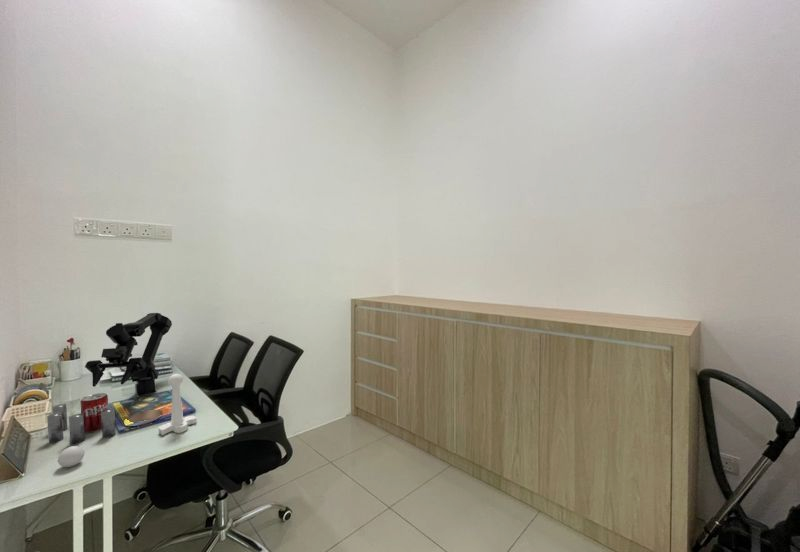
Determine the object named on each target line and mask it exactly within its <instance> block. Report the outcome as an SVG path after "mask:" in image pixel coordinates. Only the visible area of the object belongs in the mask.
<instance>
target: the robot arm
mask: <svg viewBox="0 0 800 552" xmlns="http://www.w3.org/2000/svg"><path fill="white" fill-rule="evenodd" d="M172 322H173V321H172V320H171V319H170V317H167V316H165V315H162V314H161V312H160V313H159V312H149V313H147V314H146V315H145V316H143V317H141V318H140V319H138V320H136V321H134V322H128V323H125V324H123V323H122V322H117V323H115V325H112V326H110V327H109V328H107V330H106V332H105V335H106V336H107V337H108V338H109V339H110V340H111V341H112V343H114V344H116V346H115V348H114V347H112V348H111V347H110V348H103V349H102V351H101V352H102V353H101V356H100V357H101V358H102V359H103V358H105V361H106V362H105V363H104V362H103V361H102V360H100V359H98V360H89V361H87V362H86V363H85V365H84V368H85V369H87V370H88V372H90V373H91V374H92V375H91V376H92V387H93V388H95V387H96V386H97V385H98V383H99V382H100V381H101V379H102V377H103V375H104V372H105V370H106V369H112V368H125V371H124V373H123V375H122V377H121V380H120V384H121V385H124V384H125V383H126V382H127V381H129V379H130V378H131V381H132V383H135V384H134V392H135V394H137V396H139V397H141V396H145V395H148V394H153V393H157V389H156V386H155V385H156V383H155V382H156V379H158V378H159V374H160V373H159V371H158V370H157V368H156V365H155V362H154V361H155V358H156V355H157V352H158V349H159V347H160V345H161V342H162V340H163V336H164V335H166V334H167V333H169V331H170V329H171V328H172V325H173V323H172ZM148 327H149V330H150V331H151V334H150V335H149V336H150V337H149V338H148V341H147V343H146V346H145V348H144V351H143V353H142V356H141V357H140V356H139V357H132V356H133V353H132V352H133V349H134V347H135V346H138V342H137V339H136V338H135V337H141V336H142V335H144V334H145V332H146V329H147V328H148Z"/></svg>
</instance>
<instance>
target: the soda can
mask: <svg viewBox="0 0 800 552" xmlns="http://www.w3.org/2000/svg"><path fill="white" fill-rule="evenodd" d="M106 409H109V396H108V394H107V393H105V392H98V393H93V394H90V395H87V396H84V397H82V398H81V399H80V414H81V413H82V414H83V415H84V433H85V434H93V433H97V432H100V431H102V423H101V411H103V410H106Z"/></svg>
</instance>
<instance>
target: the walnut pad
mask: <svg viewBox="0 0 800 552" xmlns="http://www.w3.org/2000/svg"><path fill="white" fill-rule="evenodd" d="M162 414H163V415H164V411H163V410H160V409H148V410H144V411H140V412H136V413H133V414H131V415H129V416H127V417H126V418H125V419H127V420H129V421H130V422H138V421H144V420H150V419H155V418H157V417H158V416H160V415H162Z"/></svg>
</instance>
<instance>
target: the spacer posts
mask: <svg viewBox="0 0 800 552" xmlns="http://www.w3.org/2000/svg"><path fill="white" fill-rule="evenodd" d="M51 410H52V413H51V414H49V415H47V416H46V419H47V420H46V421H47V438H48V443H49V444H54V443H58V442H61V441H63V440H64V431H66V430H69V442H70V443H69V444H70V445H72V446H76V445H78V444H81V443H84V441H86V438H85V437H86V436H85V435H86V433H84V415H83V414H82V413H81V412H80V413H76V414H73V415H70V416H69V417H68V412H67V411H68V410H67V403H60V404H57V405H53V406H52V409H51ZM115 411H116V410H115V408H111V407H109V408H108V409H106V410H103V411H101V423H102V430H101V437H102V439H109V438H113V437H114V436H115V435H116V434H117V432H116V415H115ZM68 426H69V427H68ZM68 428H69V429H68Z"/></svg>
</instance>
